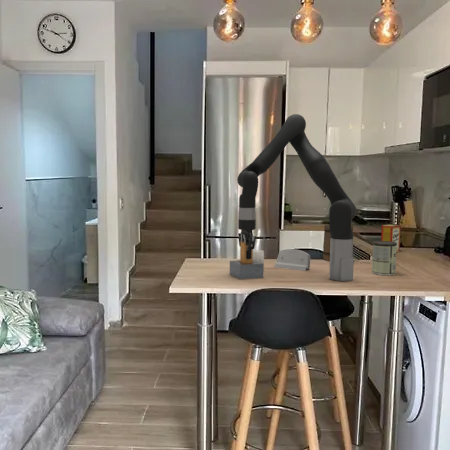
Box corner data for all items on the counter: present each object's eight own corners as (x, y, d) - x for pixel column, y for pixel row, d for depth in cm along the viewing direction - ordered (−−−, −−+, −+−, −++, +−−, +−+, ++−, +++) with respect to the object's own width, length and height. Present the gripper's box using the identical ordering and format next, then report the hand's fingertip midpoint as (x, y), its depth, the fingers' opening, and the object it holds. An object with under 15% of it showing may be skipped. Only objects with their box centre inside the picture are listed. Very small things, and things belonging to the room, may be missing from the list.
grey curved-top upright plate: (273, 267, 227) (277, 246, 228) (277, 269, 230) (281, 248, 232) (305, 271, 217) (309, 249, 219) (309, 273, 221) (313, 252, 223)
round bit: (265, 271, 216) (266, 251, 215) (253, 272, 214) (254, 252, 213) (260, 268, 222) (260, 249, 221) (248, 269, 220) (248, 250, 219)
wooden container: (355, 262, 243) (357, 219, 241) (327, 262, 242) (328, 219, 240) (346, 257, 257) (348, 216, 255) (319, 257, 257) (321, 216, 255)
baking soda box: (390, 253, 273) (392, 225, 272) (380, 251, 278) (381, 224, 277) (399, 251, 279) (400, 224, 278) (389, 250, 284) (390, 223, 283)
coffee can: (371, 270, 220) (372, 240, 219) (395, 271, 217) (396, 241, 216) (371, 274, 210) (372, 243, 209) (396, 276, 207) (397, 244, 206)
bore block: (263, 277, 202) (263, 263, 201) (239, 279, 198) (239, 265, 197) (252, 272, 212) (252, 259, 212) (229, 274, 208) (229, 260, 207)
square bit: (252, 265, 204) (252, 242, 203) (244, 266, 202) (244, 243, 201) (248, 264, 207) (249, 241, 206) (240, 264, 206) (240, 241, 205)
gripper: (262, 219, 198) (261, 260, 199) (248, 216, 211) (247, 255, 212) (245, 219, 195) (245, 261, 196) (232, 217, 208) (232, 255, 210)
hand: (246, 257), depth 204 cm, fingers closed on square bit, 4 cm apart
